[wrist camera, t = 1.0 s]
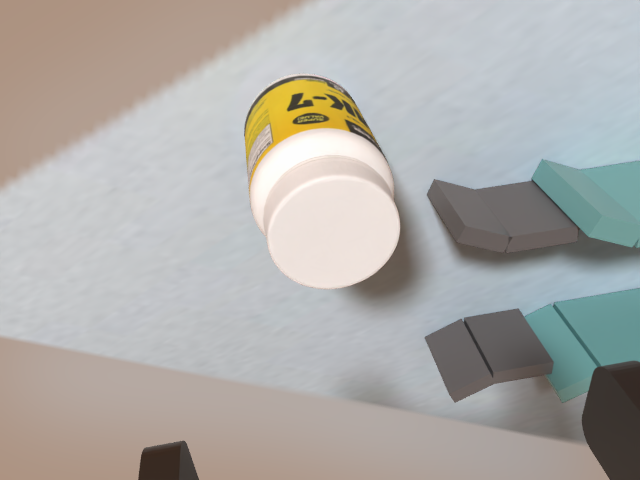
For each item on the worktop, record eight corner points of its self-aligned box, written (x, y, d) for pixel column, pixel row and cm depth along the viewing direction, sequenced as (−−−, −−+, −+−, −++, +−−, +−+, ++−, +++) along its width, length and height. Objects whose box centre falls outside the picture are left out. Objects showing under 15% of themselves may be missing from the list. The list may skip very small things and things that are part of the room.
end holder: (716, 133, 27) (805, 183, 23) (661, 308, 33) (724, 373, 29) (533, 160, 27) (592, 216, 22) (511, 334, 33) (554, 404, 28)
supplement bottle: (378, 95, 24) (445, 194, 17) (330, 192, 26) (372, 316, 19) (267, 50, 22) (291, 141, 15) (226, 158, 24) (231, 280, 17)
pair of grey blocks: (537, 163, 27) (583, 207, 23) (515, 331, 32) (549, 385, 29) (426, 180, 26) (457, 227, 23) (424, 347, 32) (448, 403, 29)
